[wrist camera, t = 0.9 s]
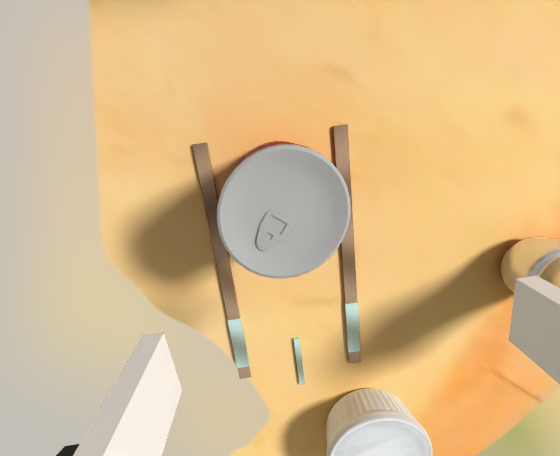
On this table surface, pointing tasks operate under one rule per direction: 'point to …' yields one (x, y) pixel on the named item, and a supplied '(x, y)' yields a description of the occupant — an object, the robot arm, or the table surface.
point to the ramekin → (374, 427)
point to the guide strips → (225, 269)
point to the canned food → (283, 210)
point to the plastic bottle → (532, 261)
